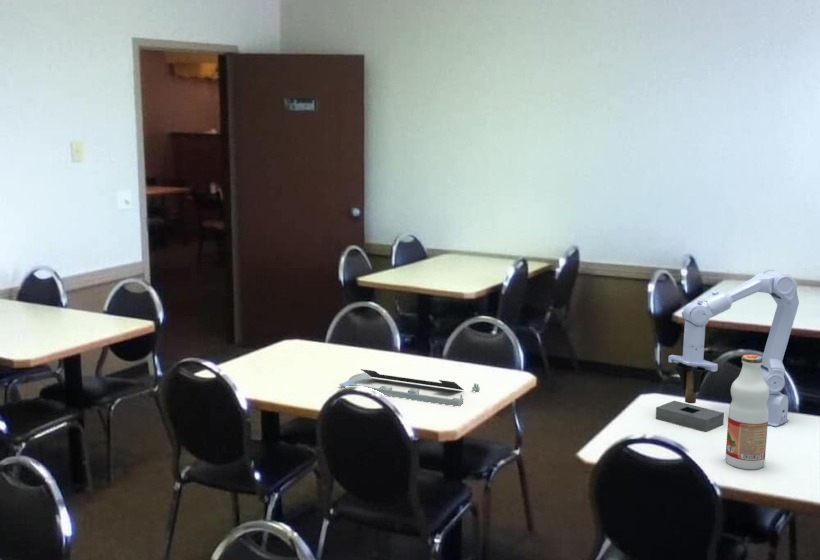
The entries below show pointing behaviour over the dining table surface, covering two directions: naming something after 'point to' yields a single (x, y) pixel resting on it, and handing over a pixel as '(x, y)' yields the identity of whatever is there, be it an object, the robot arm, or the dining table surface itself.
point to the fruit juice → (748, 416)
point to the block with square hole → (690, 416)
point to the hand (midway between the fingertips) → (690, 390)
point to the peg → (690, 388)
